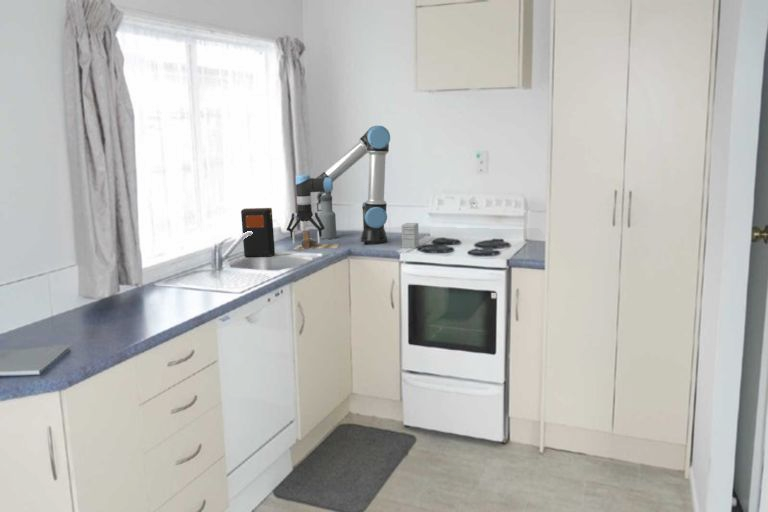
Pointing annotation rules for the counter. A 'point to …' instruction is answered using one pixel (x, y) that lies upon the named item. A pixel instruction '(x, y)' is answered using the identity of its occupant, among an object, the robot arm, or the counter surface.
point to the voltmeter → (258, 232)
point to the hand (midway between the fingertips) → (306, 243)
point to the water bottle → (327, 215)
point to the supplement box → (410, 235)
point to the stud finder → (311, 243)
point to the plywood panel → (319, 246)
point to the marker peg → (306, 239)
